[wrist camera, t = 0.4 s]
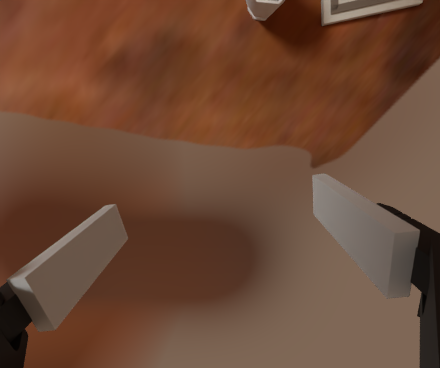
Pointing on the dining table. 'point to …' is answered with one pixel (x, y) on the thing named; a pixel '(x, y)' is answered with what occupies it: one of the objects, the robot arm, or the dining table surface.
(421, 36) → the dining table surface
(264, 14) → the cup
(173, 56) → the dining table surface
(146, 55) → the dining table surface
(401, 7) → the board
